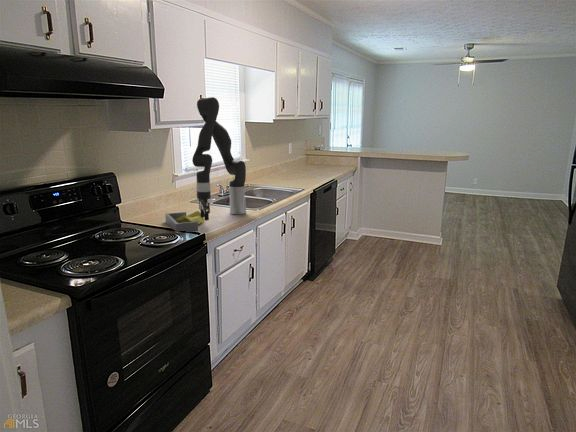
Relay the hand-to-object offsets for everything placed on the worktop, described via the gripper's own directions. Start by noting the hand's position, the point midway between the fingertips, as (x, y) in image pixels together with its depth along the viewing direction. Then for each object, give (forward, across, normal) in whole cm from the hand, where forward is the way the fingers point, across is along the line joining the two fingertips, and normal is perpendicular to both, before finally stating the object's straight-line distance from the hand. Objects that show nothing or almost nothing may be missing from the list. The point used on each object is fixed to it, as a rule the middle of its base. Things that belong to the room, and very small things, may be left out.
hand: (204, 218), depth 231 cm
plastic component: (+3, +3, +9) cm, 10 cm away
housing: (+3, -1, +12) cm, 13 cm away
